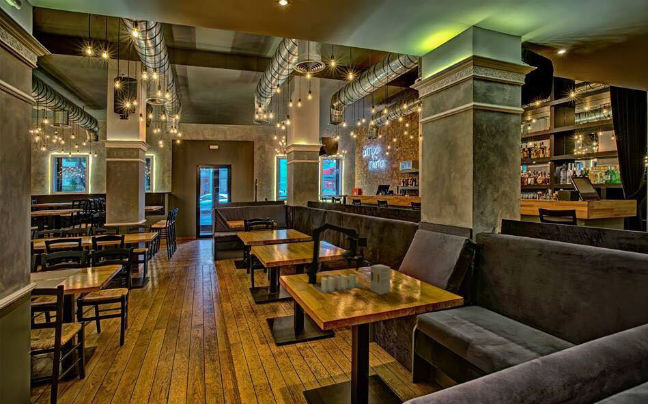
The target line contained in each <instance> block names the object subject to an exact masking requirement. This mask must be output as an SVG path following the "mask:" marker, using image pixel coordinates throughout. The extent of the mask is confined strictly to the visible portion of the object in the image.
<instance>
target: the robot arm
mask: <svg viewBox="0 0 648 404" xmlns="http://www.w3.org/2000/svg"><path fill="white" fill-rule="evenodd" d="M326 230H331V231H335V232H338V233H342V234H344V235H345V236H348V237H346V239H345V241H348V247H347V248H346V249H347V250H345V251H343V252H341V253H340V255H341V258H342V259H344V260H345V262H346V264H347V268H348V269H350V268H352V267H351V266H352V261H353V262H354V266H355V271H356V272H357V271H358V270H359V268H360V267H361V265H362V263H363V262H365V257H364V256H362V255H359V254H358V251H359V248H369V237H368V236H365V237H364V236H363V237H362V236H361V235H360V233H359V231H358V229H357V228H355V227H346V226H341V225H338V224H334V223H331V222H325V223H324V224H323V225H321V226H320V227H316V228H314V229H313V230H312V238H313V239H312V240H313V248H312V249H313V250H312V261H311V264H310V267H309V271H307V272H306V275H307V276H308V281H306V284H308V285H315V284H319V282H317V281H318V279H317V275H318V272H320V271H321V269H322V262H320V249H321V239H322V237H323V233H324V232H325V231H326ZM358 247H359V248H358Z"/></svg>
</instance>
